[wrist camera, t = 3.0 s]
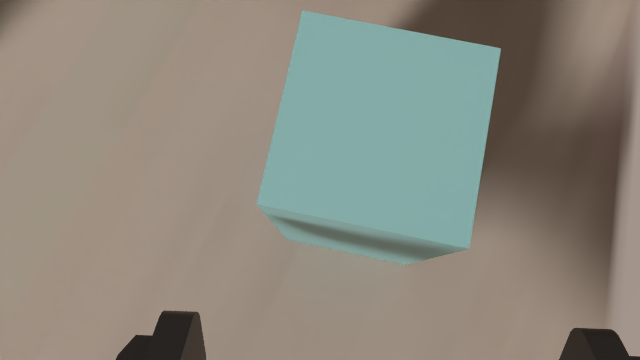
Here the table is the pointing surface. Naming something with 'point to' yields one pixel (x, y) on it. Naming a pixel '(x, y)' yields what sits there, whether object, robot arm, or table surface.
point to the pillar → (379, 140)
